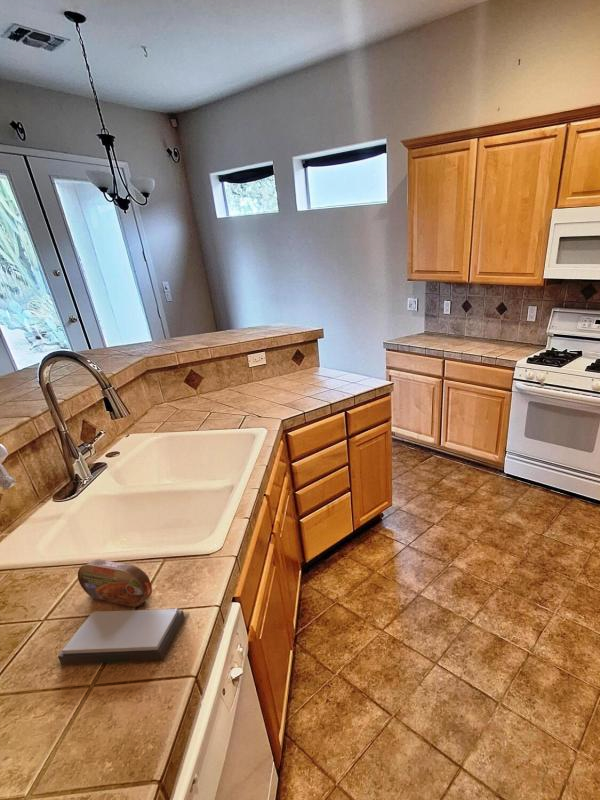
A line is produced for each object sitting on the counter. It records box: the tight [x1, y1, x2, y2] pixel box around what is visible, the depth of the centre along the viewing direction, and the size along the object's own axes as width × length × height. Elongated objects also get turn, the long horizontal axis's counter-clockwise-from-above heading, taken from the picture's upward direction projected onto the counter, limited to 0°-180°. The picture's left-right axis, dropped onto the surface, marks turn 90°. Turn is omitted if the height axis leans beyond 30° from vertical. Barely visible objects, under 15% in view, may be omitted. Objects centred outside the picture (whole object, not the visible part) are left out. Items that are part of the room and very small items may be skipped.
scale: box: [57, 608, 186, 666], centre depth 75 cm, size 16×10×3 cm, turn 94°
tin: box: [77, 559, 153, 608], centre depth 83 cm, size 15×3×8 cm, turn 76°
